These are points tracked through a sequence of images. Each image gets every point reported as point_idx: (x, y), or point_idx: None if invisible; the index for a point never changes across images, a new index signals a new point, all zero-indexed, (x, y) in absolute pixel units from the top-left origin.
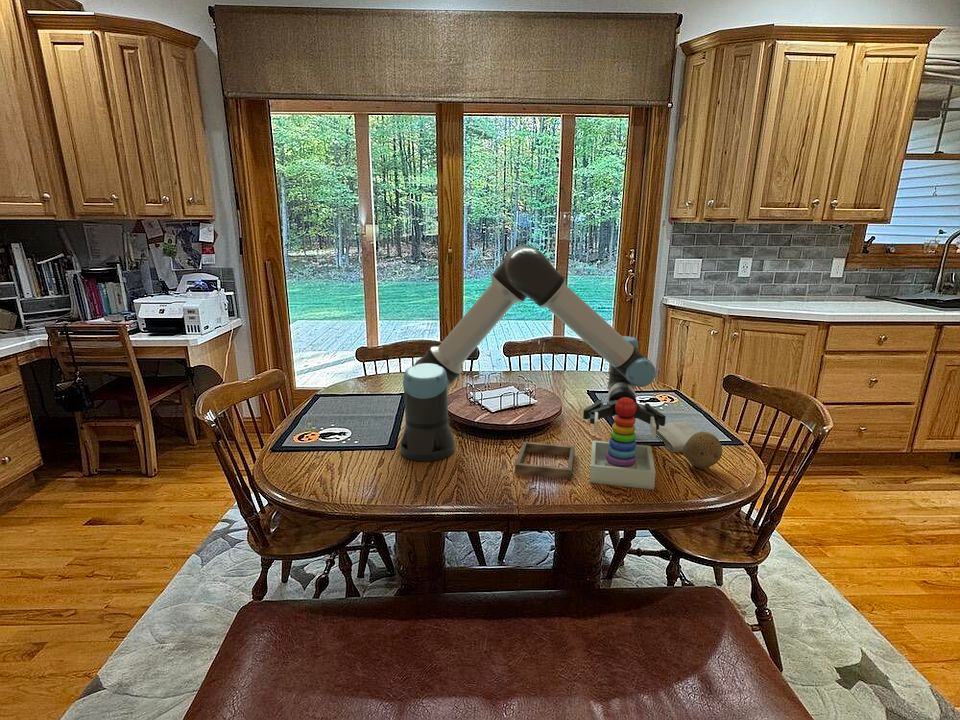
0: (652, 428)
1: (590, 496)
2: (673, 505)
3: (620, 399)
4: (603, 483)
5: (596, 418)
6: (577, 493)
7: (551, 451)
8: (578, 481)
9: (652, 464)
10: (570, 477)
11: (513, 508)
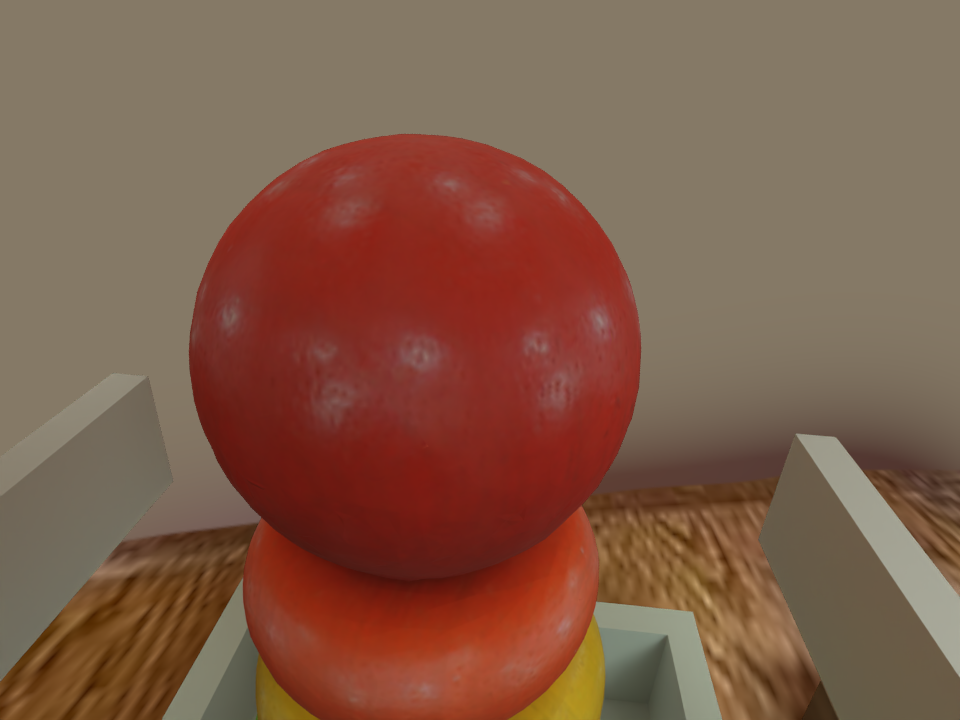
0: (142, 418)
1: (630, 564)
2: (242, 529)
3: (559, 184)
4: None
5: (865, 508)
6: (700, 582)
7: None
8: (740, 708)
9: (198, 678)
10: (807, 717)
11: (897, 475)
